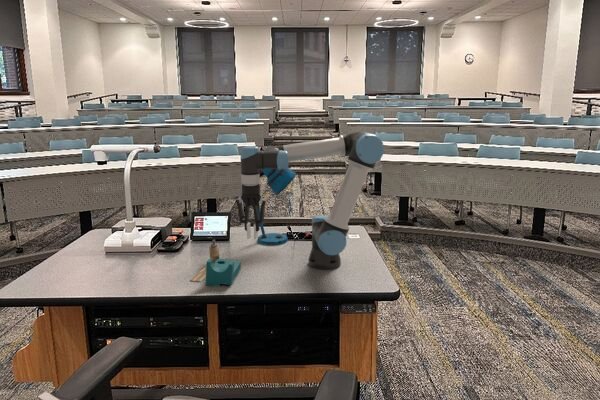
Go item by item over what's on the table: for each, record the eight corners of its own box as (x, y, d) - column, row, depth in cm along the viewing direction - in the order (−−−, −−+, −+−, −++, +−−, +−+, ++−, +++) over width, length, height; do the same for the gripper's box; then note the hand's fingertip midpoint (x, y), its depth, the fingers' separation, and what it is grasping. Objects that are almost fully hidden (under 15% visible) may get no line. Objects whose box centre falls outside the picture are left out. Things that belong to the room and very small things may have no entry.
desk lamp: (297, 245, 253) (296, 159, 243) (255, 245, 253) (252, 160, 242) (296, 235, 269) (296, 155, 259) (257, 236, 269) (254, 155, 258)
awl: (220, 261, 231) (219, 238, 228) (217, 264, 227) (216, 241, 224) (212, 260, 232) (211, 238, 229) (208, 264, 228) (207, 241, 225)
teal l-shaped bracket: (230, 288, 202) (232, 264, 200) (205, 284, 203) (206, 261, 200) (240, 271, 220) (241, 250, 217) (217, 269, 220) (218, 247, 218)
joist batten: (215, 268, 222) (215, 267, 222) (200, 282, 207) (200, 281, 207) (204, 267, 223) (204, 266, 223) (189, 281, 208) (189, 280, 208)
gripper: (271, 182, 202) (272, 236, 208) (236, 181, 205) (238, 234, 211) (266, 186, 195) (267, 242, 200) (229, 185, 198) (232, 239, 204)
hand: (252, 238), depth 206 cm, fingers open, 2 cm apart
